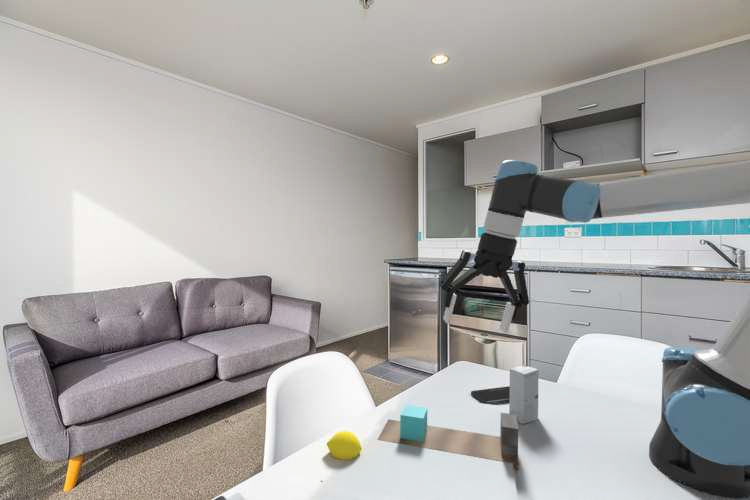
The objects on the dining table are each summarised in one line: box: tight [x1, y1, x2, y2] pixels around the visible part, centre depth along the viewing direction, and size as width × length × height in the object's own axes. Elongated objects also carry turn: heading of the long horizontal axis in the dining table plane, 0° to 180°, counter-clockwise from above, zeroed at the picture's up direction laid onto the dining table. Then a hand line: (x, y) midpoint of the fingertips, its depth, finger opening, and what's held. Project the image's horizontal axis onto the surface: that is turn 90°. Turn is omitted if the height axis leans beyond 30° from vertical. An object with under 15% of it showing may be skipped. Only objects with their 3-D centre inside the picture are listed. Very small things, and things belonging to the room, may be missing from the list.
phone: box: [470, 385, 510, 406], centre depth 101 cm, size 8×1×15 cm
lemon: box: [326, 430, 362, 461], centre depth 72 cm, size 7×5×5 cm
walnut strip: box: [377, 412, 519, 471], centre depth 77 cm, size 28×9×7 cm, turn 73°
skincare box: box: [508, 364, 539, 425], centre depth 89 cm, size 6×4×12 cm
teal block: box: [399, 404, 428, 442], centre depth 79 cm, size 5×5×5 cm
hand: (474, 326), depth 81 cm, fingers open, 13 cm apart
